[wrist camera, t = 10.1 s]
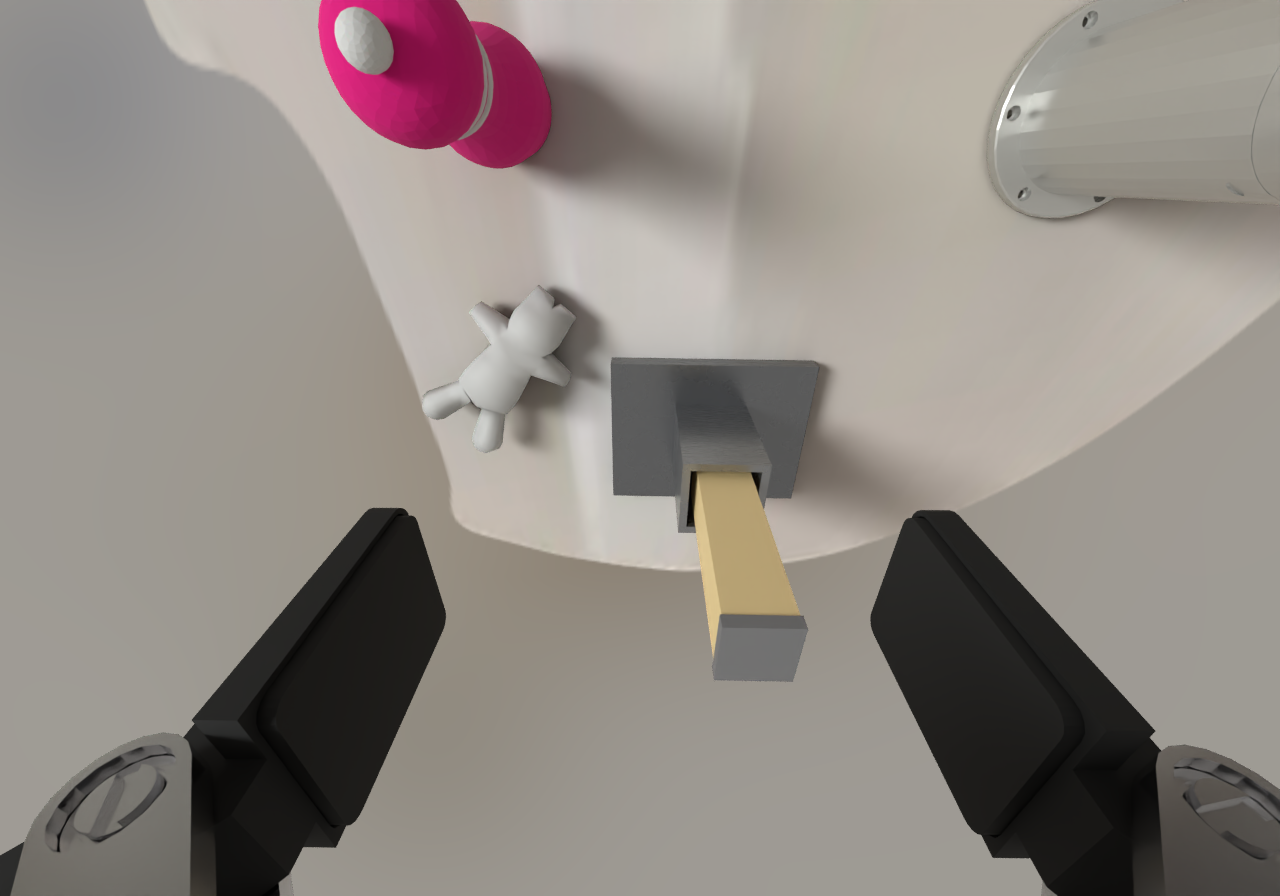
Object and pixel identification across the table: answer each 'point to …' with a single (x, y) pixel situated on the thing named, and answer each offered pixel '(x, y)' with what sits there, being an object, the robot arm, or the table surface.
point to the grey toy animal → (506, 364)
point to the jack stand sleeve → (707, 424)
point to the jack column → (744, 582)
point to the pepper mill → (436, 78)
